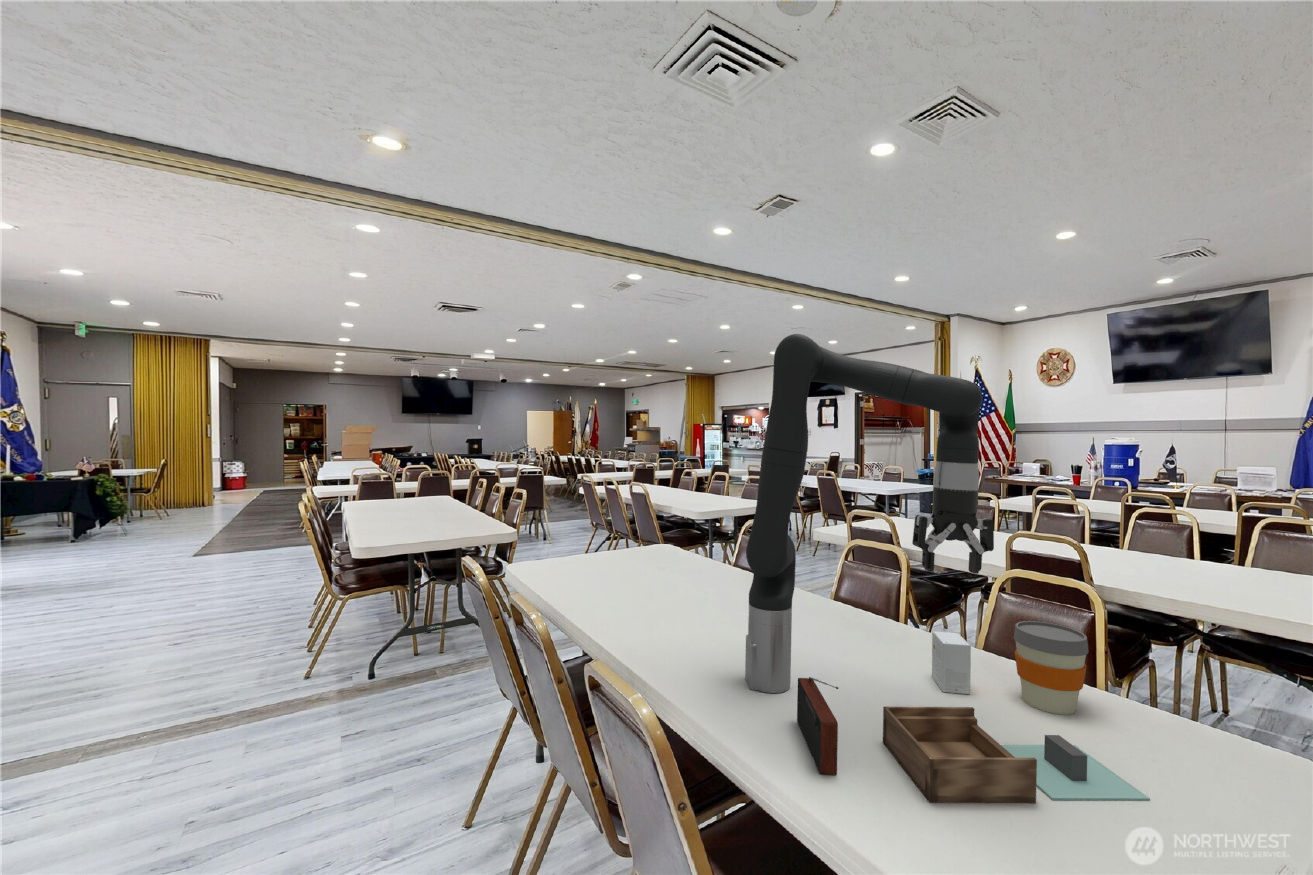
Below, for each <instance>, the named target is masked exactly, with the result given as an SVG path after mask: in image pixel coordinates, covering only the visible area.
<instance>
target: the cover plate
mask: <svg viewBox="0 0 1313 875" xmlns="http://www.w3.org/2000/svg"><path fill="white" fill-rule="evenodd" d="M1000 745H1001V746H1002V747H1004V748H1005V749H1006V750H1007V751H1008V752H1009V753H1011V754H1012V755H1013V756H1014V757H1015V758H1035V759H1037V779H1036V789H1039V790H1040V791H1041V792H1042V793H1043V794H1045V796H1046V797H1048V799H1050V800H1051V801H1053V802H1054V801H1056V802H1057V801H1059V802H1060V801H1061V802H1062V801H1063V802H1066V801H1067V802H1069V801H1071V802H1076V801H1077V802H1082V801H1083V802H1089V801H1092V802H1106V801H1107V802H1113V801H1115V802H1116V801H1118V802H1129V801H1130V802H1131V801H1132V802H1134V801H1136V802H1150V801H1151V798H1150V797H1149V796H1148V795H1146V794H1145V793H1144V792H1142V791H1141V790H1139V789H1138V788H1137V787H1135V786H1133V785H1132V784H1131V783H1129V782H1128V781H1126V779H1124V778H1122V777H1121V776H1119V774H1117V773H1115V772H1114V771H1112V770H1111V769H1109V768H1108V767H1107V766H1106V765H1104V764H1102V763H1101V762H1100V761H1099V760H1097V759H1096V758H1094V757H1093V756H1091V755H1090V754H1089V753H1087V752H1086V751H1085V750H1083V749H1081V748H1080V747H1079V746H1078V745H1076V744H1072V743H1071V742H1069V741H1067V739H1066V738H1063V737H1062V736H1061V735H1059V734H1044V744H1000Z"/></svg>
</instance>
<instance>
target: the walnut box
mask: <svg viewBox="0 0 1313 875" xmlns="http://www.w3.org/2000/svg"><path fill="white" fill-rule="evenodd" d="M882 713H883V714H882V717H883V718H882V744H883V746H884V747H885V748H886V749H887V750H888V752H889V753H890V754H891V756H893V758H894V759H895V760H896V761H897V763H898V764H899V766H900V767H901V768H902V770H904V772H905V773H906V775H907V776H908V777H909V779H911V781H912V782H913V783H914V785H916V787H917V788H918V790H919V791H920V792H921V793H922V794H923V796H924V797H925V799H926V800H927V801H928V803H935V804H936V803H938V804H939V803H941V804H943V803H945V804H946V803H949V804H951V803H952V804H953V803H955V804H956V803H964V804H965V803H974V804H976V803H977V804H979V803H981V804H983V803H984V804H985V803H988V804H989V803H990V804H993V803H994V804H996V803H999V804H1003V803H1004V804H1013V803H1015V804H1016V803H1018V804H1021V803H1022V804H1028V803H1029V804H1036V803H1037V787H1036V779H1037V759H1035V758H1015V757H1014V756H1013V755H1012V754H1011V753H1009V752H1008V751H1007V750H1006V749H1005V748H1004V747H1002V746H1001V745H1002V744H1000V743H999V742H998V741H997V740H995V739H994V737H992V736H991V735H990V734H989V733H988V732H986V731H985V730H984V729H983V728H982V727H981V726H979V725H978V718H977V717H976V716H975V708H974V707H973V706H883V711H882Z"/></svg>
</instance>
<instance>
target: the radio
mask: <svg viewBox="0 0 1313 875" xmlns="http://www.w3.org/2000/svg"><path fill="white" fill-rule="evenodd" d="M816 682H818V683H821V684H824V685H827V686H829V687H832V688H834V689H836V690H839V687H838V686H834V685H831V684H829V683H827V682H825V681H821V680H819V679H817V678H814V677H811V676H809V677H797V699H796V700H797V705H796V706H797V707H796V708H797V709H796V722H797V725H798V728H799V730H800V732H801V734H802V736H803V738H804V741H805V744H806V746H807V748H808V751H809V753H810V756H811V757H812V759H813V762H814V764H815V767H816V770H817V771H818V774H819V775H829V776H830V775H831V776H836V775H838V737H839V736H838V735H839V732H838V730H839V729H838V728H839V725H838V723H839V722H838V720H837V719H836V717H835V715H834V712H832V710H831V707H830V706H829V705H828V703H827V700H826V699H825V697H824V696H823V694H822V692H821V690H820V689H819V687H818V686H817V684H816Z"/></svg>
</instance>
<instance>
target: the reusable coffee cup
mask: <svg viewBox="0 0 1313 875" xmlns="http://www.w3.org/2000/svg"><path fill="white" fill-rule="evenodd" d="M1013 640H1014V641H1015V646H1016V647H1015V648H1016V649H1015V650H1014V656H1015V658H1014V659H1015V665H1016V672H1017V676H1019V679H1020V685H1021V686H1020V687H1021V695H1022V700H1023V701H1024V702H1025V703H1026V704H1027V705H1029V706H1031V707H1033V708H1034V709H1037V710H1040V711H1043V712H1047V713H1050V714H1055V715H1064V716H1065V715H1067V716H1069V715H1072V714H1075V713H1076V712H1077V706H1078V701H1079V696H1080V690H1082V689H1083V688H1084V684H1085V678H1086V672H1087V668H1088V667H1087V663H1085V662H1086V658H1087V655H1088V654H1089V643H1088V637H1087V635H1086V634H1085V633H1083V632H1081V631H1079V630H1077V629H1075V628H1072V627H1069V626H1064V625H1060V624H1055V623H1052V622H1045V621H1037V620H1023V621H1019V622H1016V623H1015V626H1014V634H1013Z"/></svg>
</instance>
